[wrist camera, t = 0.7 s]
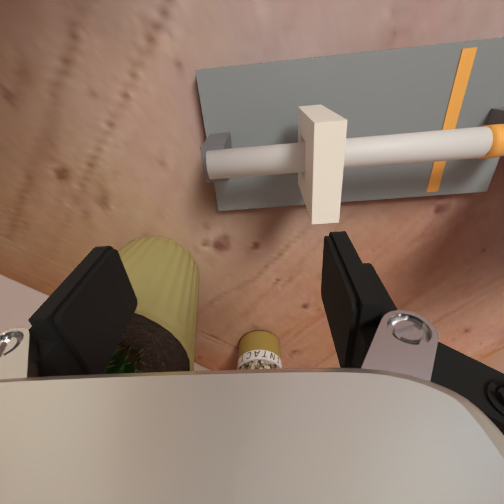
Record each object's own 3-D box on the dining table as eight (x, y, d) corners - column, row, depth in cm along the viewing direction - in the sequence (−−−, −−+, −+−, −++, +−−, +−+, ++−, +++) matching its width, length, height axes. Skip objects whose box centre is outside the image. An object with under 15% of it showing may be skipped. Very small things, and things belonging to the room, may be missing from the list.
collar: (297, 106, 25) (314, 123, 18) (320, 104, 25) (347, 120, 17) (298, 183, 29) (311, 224, 21) (318, 181, 29) (338, 222, 21)
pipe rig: (198, 70, 27) (175, 70, 20) (531, 34, 25) (644, 20, 18) (219, 205, 35) (209, 243, 27) (478, 186, 33) (541, 221, 25)
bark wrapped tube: (279, 355, 50) (293, 565, 29) (240, 355, 50) (226, 563, 29) (280, 328, 46) (298, 546, 25) (238, 328, 46) (220, 544, 25)
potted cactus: (142, 197, 34) (-180, 552, 9) (236, 270, 40) (197, 615, 15) (83, 269, 41) (-208, 602, 15) (171, 324, 46) (66, 633, 21)
